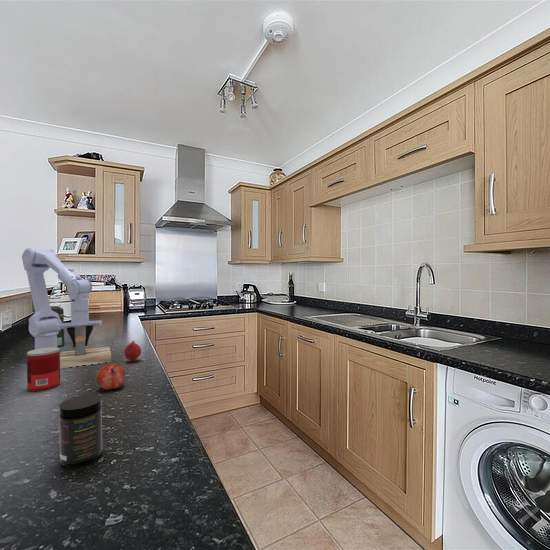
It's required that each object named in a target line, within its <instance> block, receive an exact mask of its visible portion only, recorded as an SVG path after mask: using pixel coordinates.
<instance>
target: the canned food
mask: <svg viewBox="0 0 550 550" xmlns="http://www.w3.org/2000/svg"><path fill="white" fill-rule="evenodd" d="M60 352H61V350H60V348H59V347H48V348H40V349H35V348H34V349H32V350H29V351H27V353H26V388H27V389H28V391H30V392H42V391H41V390H43V391H47V389H48V390H51V389H54V388H56V387H58V386H59V385H60V383H61V369H60Z"/></svg>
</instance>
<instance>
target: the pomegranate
mask: <svg viewBox="0 0 550 550" xmlns="http://www.w3.org/2000/svg"><path fill="white" fill-rule="evenodd" d="M125 375H126V374H125V369H124V367H123V366H121V365H117V364H114V363H108V364H106V365H104V366H102V368H101V369H100V370H99V371H98V372H97V374H96V382H97V383H98V386H99V388H101V389H102V390H106V391H109V389H110V390H112V389H113V390H114V389H117V388H120V387H122V385H123V384H124V382H125Z"/></svg>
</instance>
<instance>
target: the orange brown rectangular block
mask: <svg viewBox="0 0 550 550" xmlns="http://www.w3.org/2000/svg"><path fill="white" fill-rule="evenodd" d="M85 339H86V335H80V336H75V342H76V347H75V351H76V356H80V355H85V349H86V346H85Z"/></svg>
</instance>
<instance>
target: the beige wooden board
mask: <svg viewBox="0 0 550 550" xmlns="http://www.w3.org/2000/svg"><path fill="white" fill-rule="evenodd" d="M105 362H107V363H111V362H112V351H111V349H110V346H104V347H103V346H101V347H93V348H85V355H80V356H76V350H69V351H60V370H62V369H63V368H65V369H70V368H69V367H72V368H77V367H76V366H79V367H83V366H82V365H86V366H92V365H91V364H93V365H99V364H98V363H100V364H105ZM63 370H64V369H63Z"/></svg>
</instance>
